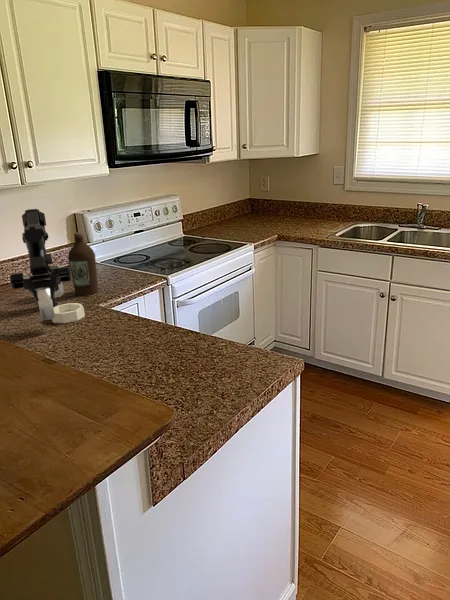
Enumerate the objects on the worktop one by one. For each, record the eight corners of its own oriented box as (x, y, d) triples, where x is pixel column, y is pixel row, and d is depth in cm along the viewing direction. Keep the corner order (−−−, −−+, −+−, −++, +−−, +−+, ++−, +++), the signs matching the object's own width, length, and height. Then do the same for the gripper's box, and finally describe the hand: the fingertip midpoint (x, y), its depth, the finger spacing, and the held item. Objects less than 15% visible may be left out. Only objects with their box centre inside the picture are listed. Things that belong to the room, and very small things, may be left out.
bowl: (49, 316, 173) (47, 307, 172) (80, 310, 178) (78, 301, 177) (54, 325, 164) (53, 315, 163) (86, 318, 169) (85, 309, 168)
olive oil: (79, 289, 206) (70, 231, 198) (103, 288, 205) (95, 230, 197) (70, 296, 196) (60, 236, 188) (95, 295, 195) (86, 235, 187)
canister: (40, 317, 160) (34, 288, 157) (53, 314, 162) (48, 285, 159) (42, 321, 156) (36, 291, 153) (56, 318, 158) (51, 288, 155)
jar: (44, 300, 193) (39, 271, 189) (39, 296, 199) (34, 268, 196) (66, 295, 197) (62, 267, 194) (61, 291, 204) (56, 264, 200)
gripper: (4, 249, 153) (9, 291, 146) (65, 242, 159) (72, 282, 152) (10, 268, 162) (15, 308, 156) (67, 261, 168) (74, 299, 162)
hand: (44, 299), depth 156 cm, fingers closed on canister, 4 cm apart
